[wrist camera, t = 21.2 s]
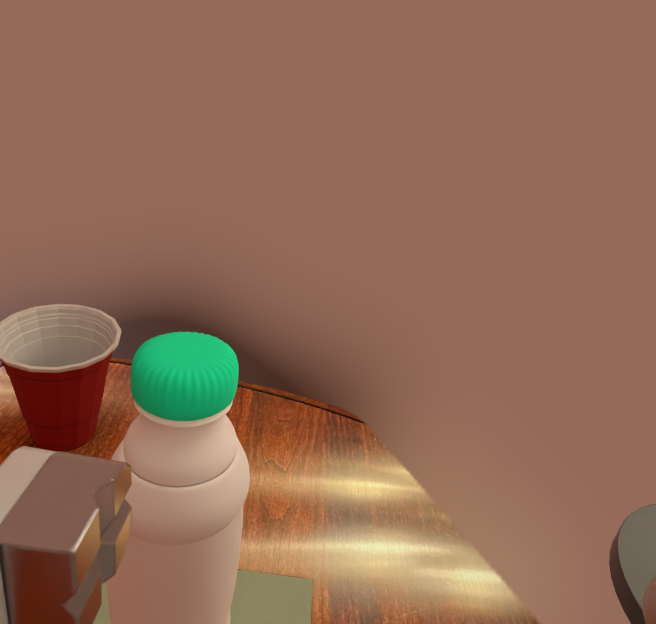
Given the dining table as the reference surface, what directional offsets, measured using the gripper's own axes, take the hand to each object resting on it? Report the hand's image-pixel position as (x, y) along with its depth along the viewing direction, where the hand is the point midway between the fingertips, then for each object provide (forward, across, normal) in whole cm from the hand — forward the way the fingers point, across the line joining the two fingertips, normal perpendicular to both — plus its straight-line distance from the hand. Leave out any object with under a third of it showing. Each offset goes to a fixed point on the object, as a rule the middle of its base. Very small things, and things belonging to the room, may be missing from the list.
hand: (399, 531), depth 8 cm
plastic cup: (+37, +24, +32) cm, 55 cm away
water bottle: (+15, +7, +32) cm, 36 cm away
